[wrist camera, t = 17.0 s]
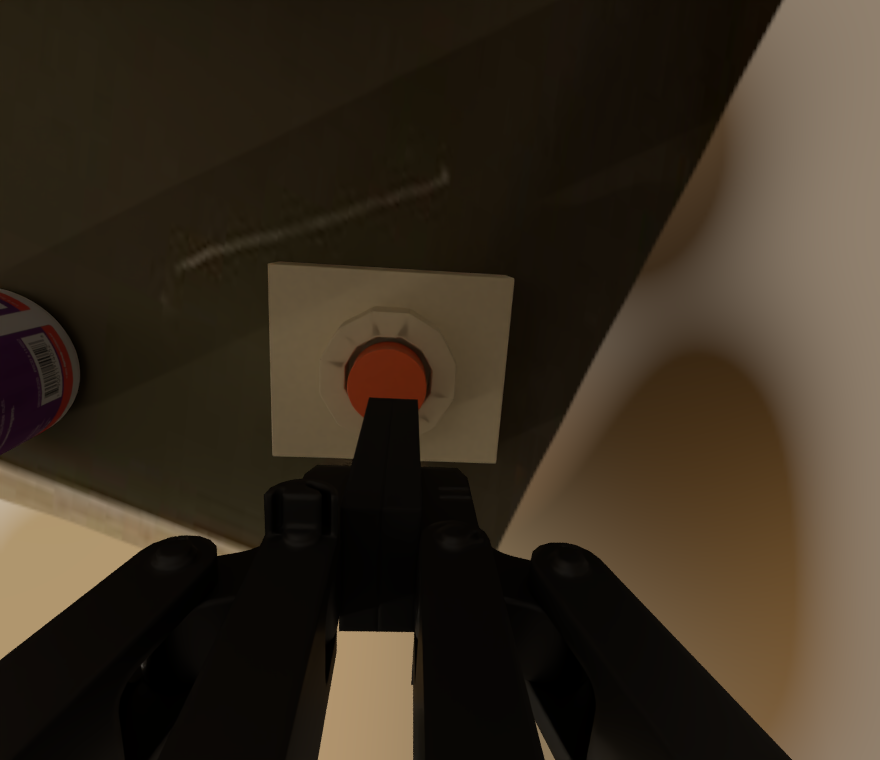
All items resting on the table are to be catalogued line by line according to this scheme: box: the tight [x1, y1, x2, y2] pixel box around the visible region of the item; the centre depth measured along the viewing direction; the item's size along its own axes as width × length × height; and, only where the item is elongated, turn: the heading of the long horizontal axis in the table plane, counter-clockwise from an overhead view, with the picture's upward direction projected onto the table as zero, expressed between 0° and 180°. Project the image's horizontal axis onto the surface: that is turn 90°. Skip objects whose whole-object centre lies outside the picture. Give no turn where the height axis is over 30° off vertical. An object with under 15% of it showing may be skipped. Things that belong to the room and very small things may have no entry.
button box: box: [268, 261, 514, 463], centre depth 26 cm, size 12×10×4 cm
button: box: [347, 342, 427, 417], centre depth 24 cm, size 4×4×2 cm
